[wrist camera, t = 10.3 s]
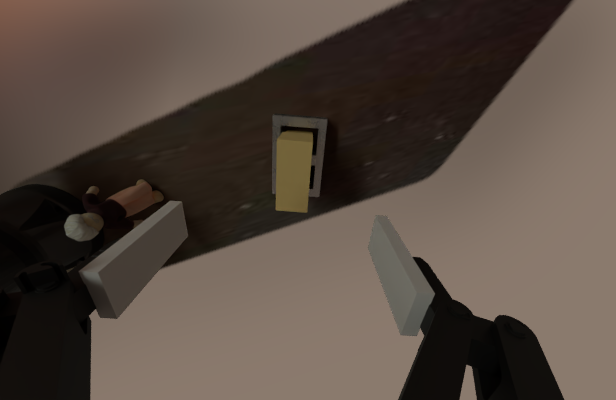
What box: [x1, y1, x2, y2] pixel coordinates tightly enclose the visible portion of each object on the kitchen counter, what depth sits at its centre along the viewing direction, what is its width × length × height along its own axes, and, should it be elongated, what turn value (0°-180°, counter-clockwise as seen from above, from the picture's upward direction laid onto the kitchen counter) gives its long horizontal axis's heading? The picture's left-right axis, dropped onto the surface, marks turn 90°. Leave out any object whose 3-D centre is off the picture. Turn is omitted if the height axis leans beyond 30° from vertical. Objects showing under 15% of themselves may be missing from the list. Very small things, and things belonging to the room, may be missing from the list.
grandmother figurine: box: [64, 179, 164, 241], centre depth 30 cm, size 8×4×13 cm, turn 52°
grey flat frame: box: [272, 114, 327, 197], centre depth 32 cm, size 7×11×2 cm, turn 176°
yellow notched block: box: [276, 130, 313, 213], centre depth 29 cm, size 4×8×10 cm, turn 176°
